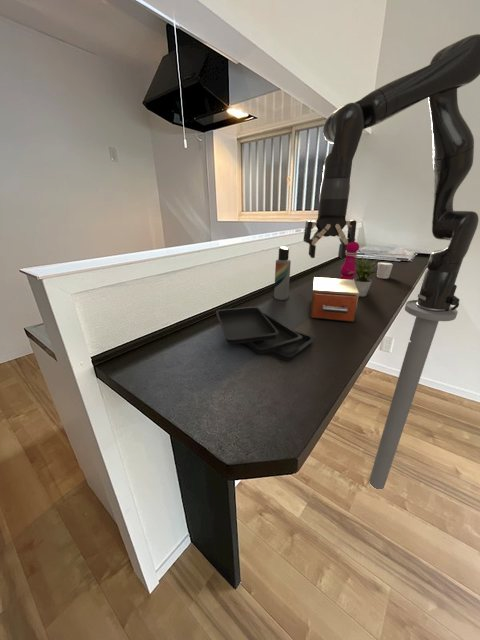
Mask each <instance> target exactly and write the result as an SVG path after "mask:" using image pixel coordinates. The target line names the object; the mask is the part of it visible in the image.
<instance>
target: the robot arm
mask: <svg viewBox="0 0 480 640" xmlns="http://www.w3.org/2000/svg"><path fill="white" fill-rule="evenodd" d="M479 76H480V33H477V34H471V35H468V36H466V37H464V38H462V39H460V40H457V41H456V42H453V43H452V44H450V45H447V46H445V47H443V48H442V49H440V50H438V51H437V53H435V54H434V56H432V58H431V60H430V62H429V64H428V65H426V66H424V67H422V68H420V69H417V70H415V71H413V72H410V73H408V74H405V75H403V76H401V77H399V78H397V79H394V80H392V81H390V82H388V83H386V84H384V85H382V86H380V87H378V88H376V89H375V90H372V91H371V92H369V93H368V94H366V95H365V96H363V97H361V98H360V99H359V100H357V101H355V102H348V103H346V104H344V105H343V106H341V107H339V108H338V109H336V110H335V111H333V112H332V113H330V115H329V116H327V118H326V120H325V121H324V124H323V128H322V129H323V130H322V133H323V138H324V139H325V140H326V141H327V142H328V143H330V144H332V147H331V151H330V152H329V154H327V156H326V157H325V160H324V164H323V170H322V171H323V172H322V180H321V185H320V191H319V201H318V211H317V219H316V221H315V220H310V219H308V220H306V221H305V226H304V232H303V233H304V234H303V242H304V243H306V244H308V255H309V257H310V259H315V258H316V249H317V245H316V244H317V243H318V241H319V240H321V239H322V237H325V238H326V237H327V238H328V237H336V238H338V240H339V242H340V243H339V245H338V246H339V247H338V254H337V256H338V258H340V259H342V258H344V257H346V255H345V254H346V252H347V251H346V247H347V244H348V243H351V242H354V241H355V242H356V230H357V220H355V219H349V220H346V216H347V210H348V205H349V197H350V191H351V175H352V169H353V161H354V158H355V156H356V153H357V149H358V147H359V143H360V141H361V139H362V138H361V137H362V134H363V131H364V130H366V129H369V128H371V127H374V126H376V125H378V124H381V123H383V122H385V121H386V120H389V119H390V118H393V117H394V116H396V115H398V114H400V113H402V112H403V111H405V110H407V109H409V108H411V107H413V106H414V105H416V104H418V103H420V102H422V101H424V100H426V99H428V105H429V112H430V120H431V136H432V172H433V173H432V174H433V205H432V206H433V207H432V217H431V232H432V236H433V237H434V239H436V240H440V241H441V240H442V241H450V242H449V244H448V245H447V247H445V248H443V249H438V250H434V251H432V252H431V253H430V255H429V258H428V263H427V266H426V269H425V273H424V276H423V279H422V283H421V287H420V291H419V293H418V294H417V299H416V300H417V303H416V306H417V307H419V308H421V309H424V310H428V311H433V312H444V311H449V308H450V306H452V307H453V308H451V310H455V309H456V310H457V309H458V307H459V306H460V298H459V297H457V296H455V294H456V290H457V287H458V286H457V284H456V282H457V279H458V276H459V275H458V274H459V273H460V269H461V266H462V263H463V260H464V258H465V257H466V255H467V254H468V251H469V249H470V246H471V244H472V241H473V239H474V236H475V234H476V231H477V229H478V226H479V220H480V219H479V214H478V213H477V212H476V211H473V210H454V199H455V195H456V193H457V190H458V189H459V188H460V186H461V185H462V184H463V182H464V180H465V179H466V178H467V176H468V175H469V173H470V171H471V169H472V167H473V165H474V157H475V156H474V155H475V154H474V153H475V138H474V134H473V132H472V130H471V128H470V127H469V125H468V123H467V122H466V120H465V119H464V117H463V115H462V113H461V111H460V107H459V101H458V100H459V99H458V89H459V88H462V87H465V86H466V85H468V84H470V83H472V82H473V81H475V80H476V79H477V78H478V77H479ZM315 227H316V229H317V230H316V231H315V232H314V234H313V236H312V237H311V235H312V230H313V229H314V228H315ZM345 227H346V228H347V237H346V234H345V232H344V231H343V230H344V228H345Z"/></svg>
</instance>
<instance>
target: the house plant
mask: <svg viewBox="0 0 480 640" xmlns="http://www.w3.org/2000/svg"><path fill="white" fill-rule="evenodd" d="M370 256H371V255H369V257H368V258H367V259H366V260H365V259H364V256H363V255H362V256H361V263H360V260H359V259H358V257H356V256H354V257H355V261H354V262H355V264H354V263H353V262H352V263H353V264H354V265H356V266H355V267H356V269H354V270H356V271H355V273H356V274H357V276H356V274H355V275H354V279H353V280H354V282H355V284H356V287H357V289H358V291H359V297H366V296H367V295H368V292H369V290H370V287H371V285H372V283H373V280H372V279H371V278H372V277H373V276H377V275H379V274H377V273H378V272H377V271H372V270H374V268H375V267H378V263H379V262H378V263H377V264H376V262H377V260H375V261H374V262H372V263H369V264H368V265H367V262H368V260H369V258H370ZM350 260H351V259H350ZM349 262H350V261H349ZM382 262H383V261H381V263H382ZM375 264H376V265H375ZM379 264H380V263H379ZM347 270H348V269H347ZM350 271H351V270H350ZM350 273H353V272H350ZM350 273H349V274H350Z"/></svg>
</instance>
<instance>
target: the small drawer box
mask: <svg viewBox="0 0 480 640" xmlns="http://www.w3.org/2000/svg"><path fill="white" fill-rule="evenodd" d="M315 293H329V294H342V295H353V296H357V302H356V307H355V313H354V318H353V321H348V322H351V323H354V322H355V318H356V313H357V307H358V303H359V297H360V296H359V291H358V289H357V287H356V284H355V282H354V280H349V279H340V278H331V277H317V276H316V277H315V276H314V277H313V285H312V294H311V304H310V312H309V313H310V314H309V318H310V319H316V318H315V317H312V311H313V302H314V294H315ZM317 319H320V320H326V319H325V318H317ZM328 320H329V321H330V320H331V321H337V320H336V319H328ZM338 321H340V322H347V321H346V320H338Z"/></svg>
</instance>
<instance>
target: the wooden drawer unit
mask: <svg viewBox="0 0 480 640" xmlns="http://www.w3.org/2000/svg"><path fill="white" fill-rule="evenodd" d="M356 302H357V296H353V295H342V294H329V293H315V294H314V302H313V311H312V317H315V318H314V319H318V318H325V319H324V320H329V319H336V320H335V321H339V320H346V321H345V322H349V321H353V318H354V313H355V307H356ZM355 314H356V313H355Z"/></svg>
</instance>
